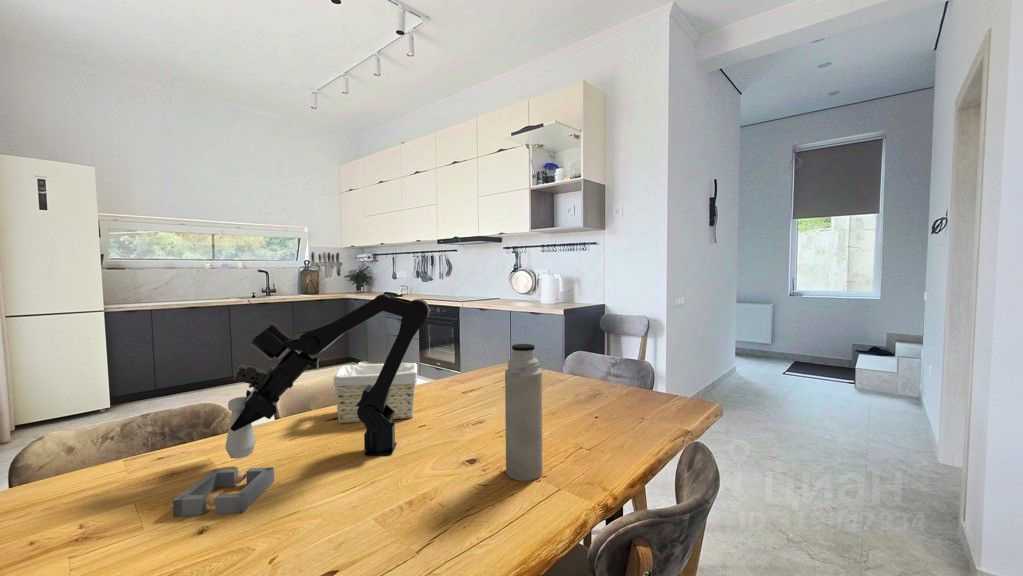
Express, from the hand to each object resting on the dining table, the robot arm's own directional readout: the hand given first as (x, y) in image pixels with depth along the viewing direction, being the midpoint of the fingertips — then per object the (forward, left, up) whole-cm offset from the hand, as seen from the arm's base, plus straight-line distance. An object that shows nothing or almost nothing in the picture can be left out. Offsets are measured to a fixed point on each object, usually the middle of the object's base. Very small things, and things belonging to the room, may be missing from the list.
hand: (232, 427), depth 96 cm
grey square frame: (-6, +13, -9) cm, 17 cm away
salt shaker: (-1, -1, -7) cm, 7 cm away
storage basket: (-24, -35, -10) cm, 43 cm away
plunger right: (-6, +9, -8) cm, 13 cm away
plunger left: (-6, +17, -8) cm, 20 cm away
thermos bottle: (-65, +8, -9) cm, 66 cm away
